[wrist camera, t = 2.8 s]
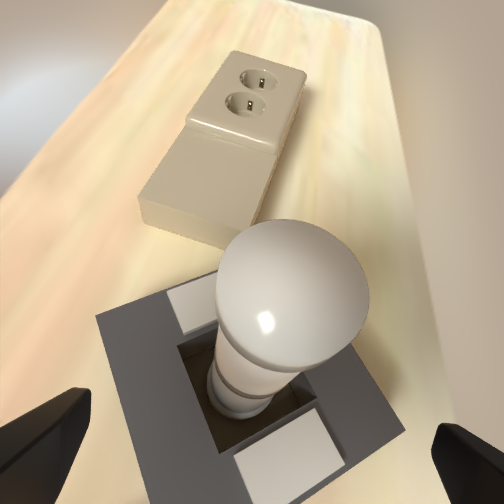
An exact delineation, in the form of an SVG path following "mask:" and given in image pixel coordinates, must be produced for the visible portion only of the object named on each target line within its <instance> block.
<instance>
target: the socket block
mask: <svg viewBox="0 0 504 504" xmlns="http://www.w3.org/2000/svg"><path fill="white" fill-rule="evenodd" d="M217 273H218V270H216V271H214V272H211V273H208V274H206V275H203V276H200V277H197V278H195V279H192V280H189V281H187V282H184V283H181V284H179V285H176V286H173V287H171V288H168V289H165V290H163V291H160V292H157V293H155V294H152V295H149V296H146V297H144V298H141V299H138V300H136V301H133V302H130V303H128V304H125V305H122V306H120V307H117V308H114V309H112V310H109V311H106V312H103V313H101V314H98V315H95V316H96V320H97V323H98V326H99V330H100V333H101V337H102V340H103V344H104V347H105V350H106V354H107V357H108V361H109V364H110V368H111V371H112V374H113V378H114V381H115V385H116V388H117V392H118V395H119V398H120V402H121V405H122V409H123V412H124V415H125V419H126V422H127V426H128V429H129V433H130V436H131V439H132V443H133V446H134V450H135V453H136V457H137V460H138V463H139V467H140V470H141V474H142V477H143V481H144V484H145V487H146V491H147V494H148V498H149V501H150V504H300V503H302V502H303V501H305V500H306V499H308V498H309V497H310V496H312V495H313V494H315V493H316V492H318V491H319V490H321V489H322V488H323V487H325V486H326V485H328V484H329V483H331V482H332V481H333V480H335V479H336V478H338V477H339V476H341V475H342V474H344V473H345V472H346V471H348V470H349V469H351V468H352V467H354V466H355V465H357V464H358V463H359V462H361V461H362V460H364V459H365V458H367V457H368V456H369V455H371V454H372V453H374V452H375V451H377V450H378V449H380V448H381V447H382V446H384V445H385V444H387V443H388V442H390V441H391V440H393V439H394V438H395V437H397V436H398V435H400V434H401V433H403V432H404V431H405V428H404V427H403V425H402V423H401V422H400V420H399V419H398V417H397V416H396V414H395V412H394V411H393V409H392V408H391V406H390V405H389V403H388V401H387V400H386V398H385V397H384V395H383V394H382V392H381V390H380V389H379V387H378V386H377V384H376V383H375V381H374V380H373V378H372V376H371V375H370V373H369V372H368V370H367V369H366V367H365V365H364V364H363V362H362V361H361V359H360V358H359V356H358V354H357V353H356V351H355V350H354V348H353V347H352V345H351V343H349V344H348V345H347V346H345V347H344V348H343V349H342V350H340V351H339V352H338V353H336V354H335V355H334V356H333V357H331V358H330V359H329V360H327V361H326V362H324V363H323V364H321V365H320V366H317V367H315V368H313V369H310V370H307V371H303V372H300V373H299V374H298V375H297V376H296V377H294V378H293V379H292V380H291V381H290V382H289V384H290V386H291V388H292V390H293V392H294V394H295V396H296V398H297V399H298V401H299V403H300V405H301V407H300V408H298V409H296V410H294V411H293V412H291V413H289V414H287V415H286V416H284V417H282V418H280V419H279V420H277V421H275V422H274V423H272V424H270V425H268V426H267V427H265V428H263V429H261V430H260V431H258V432H256V433H254V434H253V435H251V436H249V437H248V438H246V439H244V440H242V441H241V442H239V443H237V444H235V445H234V446H232V447H230V448H228V449H227V450H225V451H223V452H222V453H220V454H219V452H218V450H217V447H216V445H215V442H214V440H213V437H212V435H211V432H210V429H209V427H208V424H207V422H206V419H205V417H204V414H203V412H202V409H201V407H200V404H199V401H198V399H197V396H196V394H195V391H194V389H193V386H192V384H191V381H190V379H189V376H188V373H187V371H186V368H185V366H184V363H183V361H182V360H184V359H186V358H188V357H190V356H193V355H195V354H197V353H199V352H201V351H204V350H206V349H208V348H210V347H212V346H215V344H216V340H217V334H218V327H219V323H218V320H217V316H216V310H215V294H216V283H217Z"/></svg>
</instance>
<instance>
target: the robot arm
mask: <svg viewBox="0 0 504 504" xmlns="http://www.w3.org/2000/svg"><path fill="white" fill-rule="evenodd" d="M90 415H91V391H90V390H89V389H87V388H77V387H74V388H71V389H69V390H67V391H65V392H63V393H62V394H60V395H58V396H56V397H54V398H53V399H51V400H49V401H47V402H45V403H44V404H42V405H40V406H38V407H36V408H35V409H33V410H31V411H29V412H27V413H26V414H24V415H22V416H20V417H18V418H17V419H15V420H13V421H11V422H9V423H8V424H6V425H4V426H2V427H0V504H55V502H56V500H57V498H58V496H59V494H60V492H61V490H62V487H63V485H64V483H65V481H66V478H67V476H68V473H69V471H70V469H71V466H72V464H73V462H74V459H75V457H76V455H77V452H78V450H79V448H80V445H81V443H82V441H83V438H84V436H85V434H86V431H87V429H88V426H89V423H90ZM431 455H432V459H433V462H434V464H435V466H436V469H437V471H438V474H439V476H440V478H441V481H442V483H443V486H444V488H445V490H446V493H447V495H448V498H449V500H450V502H451V504H504V453H503V452H501V451H500V450H498V449H496V448H495V447H493V446H492V445H490V444H488V443H487V442H485V441H483V440H482V439H480V438H479V437H477V436H475V435H474V434H472V433H471V432H469V431H467V430H466V429H464V428H463V427H461V426H459V425H457V424H451V423H441V424H440V425H439V426H438V428H437V431H436V435H435V438H434V441H433V444H432V448H431Z"/></svg>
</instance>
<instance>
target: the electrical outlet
mask: <svg viewBox="0 0 504 504" xmlns="http://www.w3.org/2000/svg"><path fill="white" fill-rule="evenodd" d="M306 79H307V74H306V73H305V72H304V71H302V70H298V69H295V68H292V67H288V66H285V65H282V64H278V63H275V62H272V61H269V60H265V59H262V58H259V57H255V56H252V55H249V54H246V53H242V52H239V51H231V52H230V54H229V55H228V57H227V58H226V60H225V61H224V63H223V64H222V65H221V67H220V68H219V70H218V71H217V73H216V74H215V76H214V77H213V79H212V80H211V81H210V83H209V84H208V86H207V87H206V89H205V90H204V92H203V93H202V95H201V96H200V97H199V99H198V100H197V102H196V103H195V105H194V106H193V108H192V109H191V111H190V112H189V114H188V115H187V117H186V120H185V124H186V125H185V127H184V128H183V130H182V131H181V133H180V134H179V136H178V137H177V139H176V140H175V142H174V143H173V145H172V146H171V148H170V149H169V151H168V152H167V153H166V155H165V156H164V158H163V159H162V161H161V162H160V164H159V165H158V167H157V168H156V170H155V171H154V173H153V174H152V176H151V177H150V179H149V180H148V182H147V183H146V185H145V186H144V188H143V189H142V191H141V192H140V194H139V195H138V201H139V205H140V209H141V214H142V218H143V222H144V224H147V225H150V226H153V227H156V228H159V229H162V230H165V231H168V232H171V233H174V234H177V235H180V236H183V237H186V238H190V239H193V240H196V241H199V242H202V243H205V244H208V245H211V246H214V247H217V248H220V249H223V250H226V248H227V247H228V245H229V244H230V243H231V241H232V240H233V239H234V238H235V237H236V236H237V235H239V234H240V233H241V232H242V231H244V230H246V229H247V228H249V227H251V226H253V225H254V224H255V221H256V218H257V216H258V213H259V211H260V208H261V205H262V203H263V200H264V197H265V195H266V192H267V189H268V187H269V184H270V182H271V179H272V176H273V174H274V171H275V168H276V166H277V163H278V160H279V158H280V155H281V153H282V150H283V147H284V145H285V142H286V139H287V137H288V134H289V131H290V129H291V126H292V124H293V121H294V118H295V116H296V113H297V110H298V107H299V103H300V100H301V96H302V93H303V89H304V86H305V82H306Z"/></svg>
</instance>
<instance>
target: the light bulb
mask: <svg viewBox="0 0 504 504" xmlns="http://www.w3.org/2000/svg"><path fill="white" fill-rule="evenodd" d="M368 308H369V289H368V284H367V280H366V277H365V274H364V271H363V269H362V267H361V265H360V263H359V262H358V260H357V259H356V257H355V256H354V255H353V253H352V252H351V251H350V250H349V248H348V247H347V246H346V245H345V244H344V243H343V242H341V241H340V240H339V239H338V238H336V237H335V236H334V235H332V234H331V233H329V232H327V231H326V230H324V229H322V228H320V227H317V226H315V225H312V224H309V223H306V222H302V221H297V220H288V219H278V220H270V221H265V222H261V223H258V224H256V225H253V226H251V227H249V228H247V229H246V230H244V231H242V232H241V233H240V234H239V235H237V236H236V237H235V238H234V239H233V240H232V241H231V243H230V244H229V245H228V247H227V248H226V250H225V251H224V253H223V255H222V258H221V261H220V263H219V268H218V273H217V283H216V294H215V310H216V316H217V320H218V323H219V327H218V334H217V340H216V344H215V351H214V360H213V361H212V363H211V365H210V367H209V371H208V375H207V393H208V397H209V400H210V402H211V404H212V405H213V407H214V408H215V409H216V410H217V411H218V412H219V413H220V414H221V415H223V416H225V417H227V418H229V419H232V420H247V419H250V418H252V417H254V416H256V415H258V414H259V413H260V412H262V411H263V410H264V409H265V408H266V407H267V406H268V405H269V403H270V402H271V400H272V398H273V396H274V395H275V394H276V393H278V392H279V391H280V390H281V389H283V388H284V387H285V386H286V385H287V384H288V383H289V382H290V381H291V380H292V379H293V378H294V377H296V376H297V375H298V374H299V373H300V372H303V371H307V370H310V369H313V368H315V367H317V366H320V365H321V364H323V363H324V362H326V361H327V360H329V359H330V358H331V357H333V356H334V355H335V354H336V353H338V352H339V351H340V350H342V349H343V348H344V347H345V346H347V345H348V344H349V343H350V342H351V341H352V340H353V339H354V338H355V337H356V336H357V334H358V333H359V332H360V330H361V328H362V326H363V325H364V322H365V320H366V317H367V313H368Z"/></svg>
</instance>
